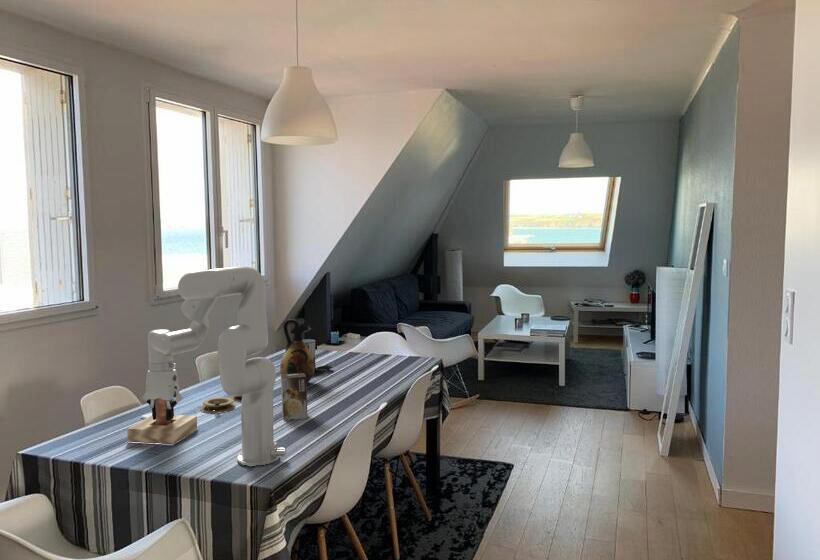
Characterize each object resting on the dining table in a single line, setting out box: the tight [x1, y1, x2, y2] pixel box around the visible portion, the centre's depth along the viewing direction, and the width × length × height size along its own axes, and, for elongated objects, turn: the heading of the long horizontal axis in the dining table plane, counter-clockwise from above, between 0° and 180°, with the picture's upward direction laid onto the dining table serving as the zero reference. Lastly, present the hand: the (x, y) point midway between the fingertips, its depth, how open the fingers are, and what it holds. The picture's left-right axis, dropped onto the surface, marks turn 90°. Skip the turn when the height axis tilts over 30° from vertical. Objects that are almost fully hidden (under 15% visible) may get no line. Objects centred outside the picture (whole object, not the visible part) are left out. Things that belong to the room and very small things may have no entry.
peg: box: [155, 398, 171, 426], centre depth 206 cm, size 4×4×12 cm
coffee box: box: [280, 373, 308, 421], centre depth 227 cm, size 9×6×16 cm
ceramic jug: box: [279, 318, 316, 387], centre depth 272 cm, size 17×15×30 cm
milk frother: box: [302, 338, 333, 371], centre depth 300 cm, size 14×16×15 cm
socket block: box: [126, 414, 198, 444], centre depth 206 cm, size 16×16×5 cm
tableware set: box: [199, 395, 243, 414], centre depth 246 cm, size 30×20×6 cm, turn 153°
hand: (163, 418), depth 206 cm, fingers closed on peg, 4 cm apart
